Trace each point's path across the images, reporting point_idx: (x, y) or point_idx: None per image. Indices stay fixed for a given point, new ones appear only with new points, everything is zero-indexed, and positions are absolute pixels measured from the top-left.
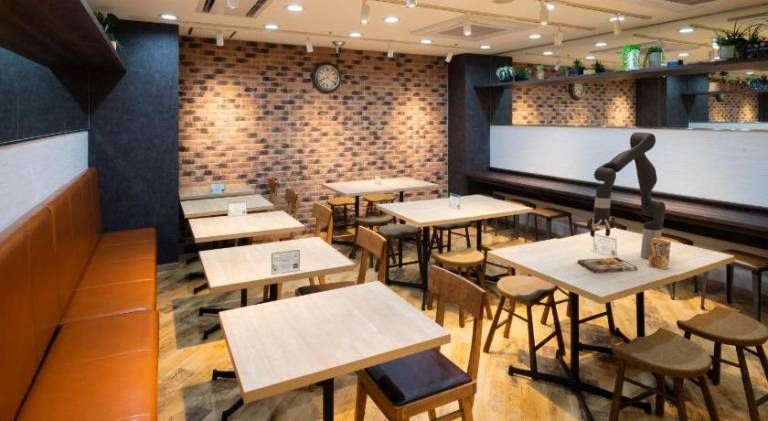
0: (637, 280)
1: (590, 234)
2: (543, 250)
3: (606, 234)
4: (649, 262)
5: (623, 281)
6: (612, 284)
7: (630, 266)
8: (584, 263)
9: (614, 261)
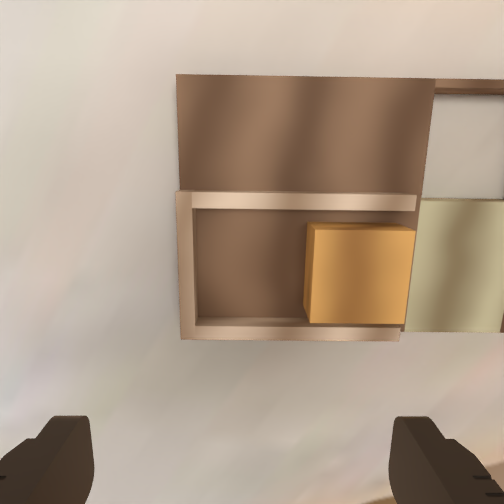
0: (361, 468)
1: (5, 472)
2: None
3: (405, 469)
4: None
5: (273, 469)
6: (185, 497)
7: (476, 316)
8: (180, 187)
9: (368, 322)
